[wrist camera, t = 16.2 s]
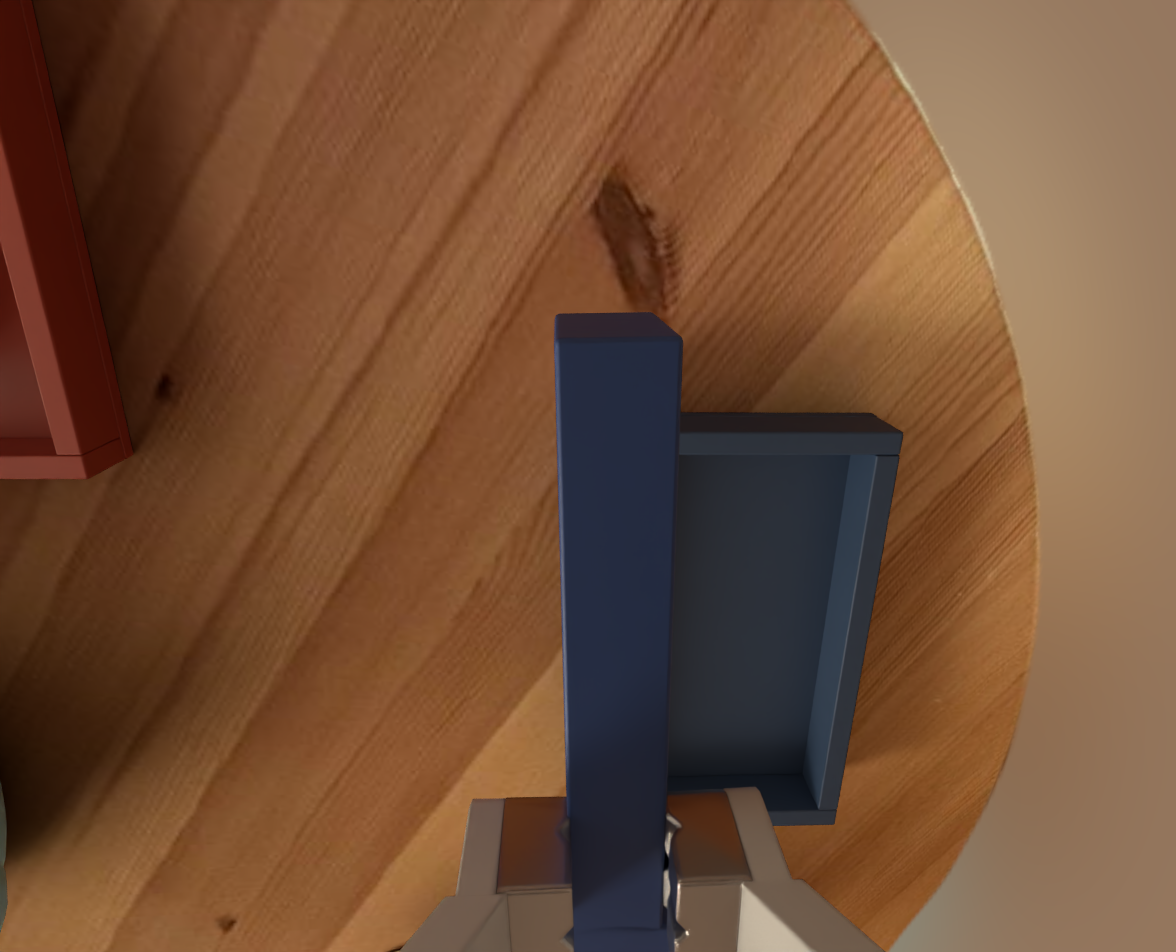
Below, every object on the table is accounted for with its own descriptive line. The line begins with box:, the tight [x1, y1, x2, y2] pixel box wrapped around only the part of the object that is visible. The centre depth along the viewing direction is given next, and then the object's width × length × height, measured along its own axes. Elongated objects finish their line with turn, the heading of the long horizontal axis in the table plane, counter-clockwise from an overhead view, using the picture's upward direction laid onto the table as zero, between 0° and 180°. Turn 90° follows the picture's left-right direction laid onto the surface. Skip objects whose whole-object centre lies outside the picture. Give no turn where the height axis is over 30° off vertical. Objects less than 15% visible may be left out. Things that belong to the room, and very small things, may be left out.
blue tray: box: [667, 412, 903, 826], centre depth 26 cm, size 17×11×2 cm, turn 179°
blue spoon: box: [554, 312, 683, 952], centre depth 11 cm, size 13×4×2 cm, turn 1°
